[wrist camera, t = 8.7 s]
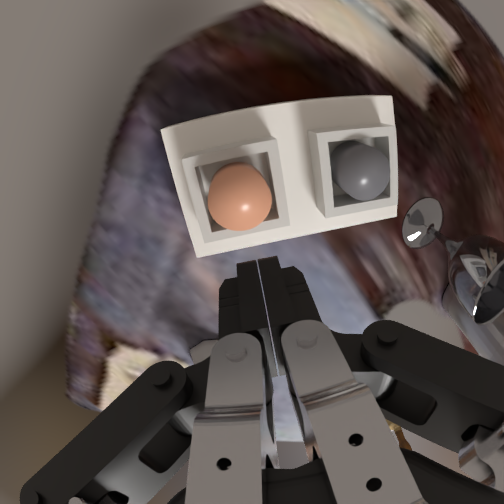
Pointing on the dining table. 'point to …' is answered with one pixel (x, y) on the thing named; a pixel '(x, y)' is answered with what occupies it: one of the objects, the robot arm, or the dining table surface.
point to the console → (282, 166)
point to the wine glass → (462, 261)
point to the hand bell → (399, 435)
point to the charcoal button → (359, 170)
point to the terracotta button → (239, 197)
